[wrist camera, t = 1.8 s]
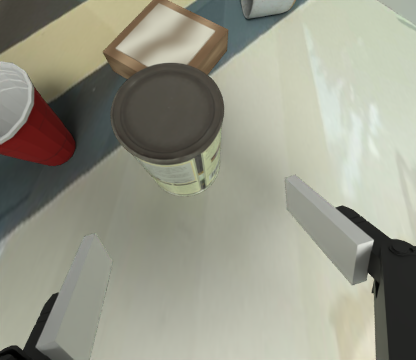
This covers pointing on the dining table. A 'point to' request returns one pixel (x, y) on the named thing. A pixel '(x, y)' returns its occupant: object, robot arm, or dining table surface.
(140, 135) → the coffee can
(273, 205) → the dining table surface
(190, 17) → the picture frame
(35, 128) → the plastic cup
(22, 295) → the dining table surface
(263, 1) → the ceramic mug
